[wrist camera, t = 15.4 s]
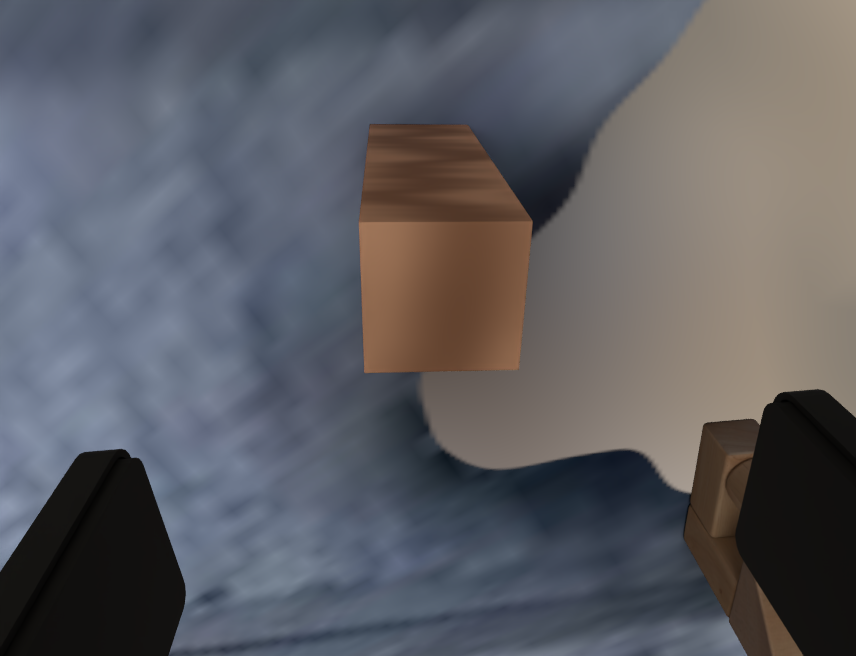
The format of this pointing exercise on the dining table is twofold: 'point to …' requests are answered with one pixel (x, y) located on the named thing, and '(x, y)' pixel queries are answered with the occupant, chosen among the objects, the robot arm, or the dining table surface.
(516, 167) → the dining table surface
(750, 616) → the wooden block
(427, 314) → the key post
